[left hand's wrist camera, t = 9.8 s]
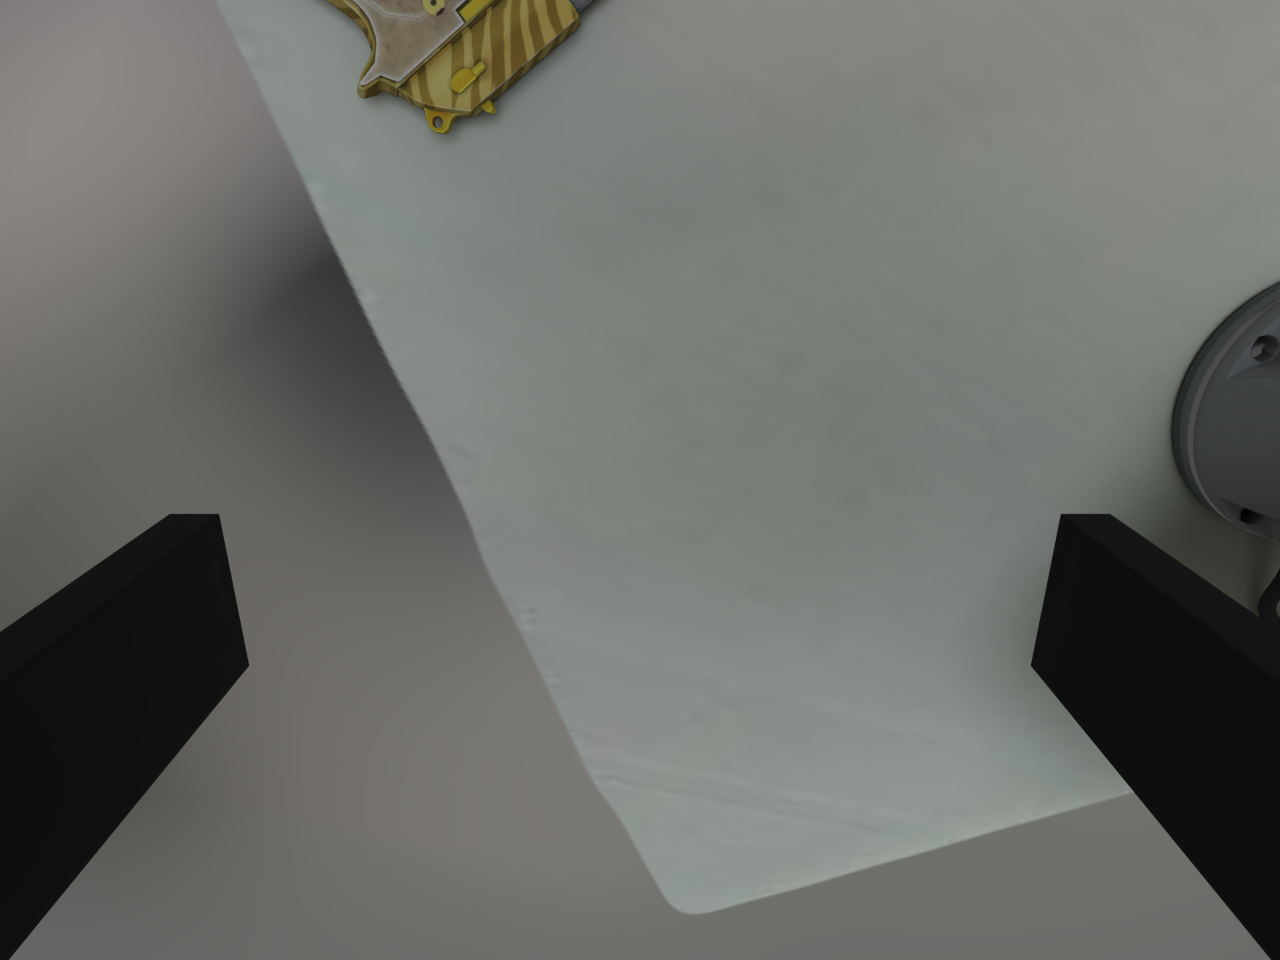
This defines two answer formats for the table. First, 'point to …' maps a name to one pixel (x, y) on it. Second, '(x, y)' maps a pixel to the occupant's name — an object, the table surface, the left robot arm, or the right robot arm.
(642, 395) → the table surface
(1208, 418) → the left robot arm
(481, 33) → the handgun
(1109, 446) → the table surface
